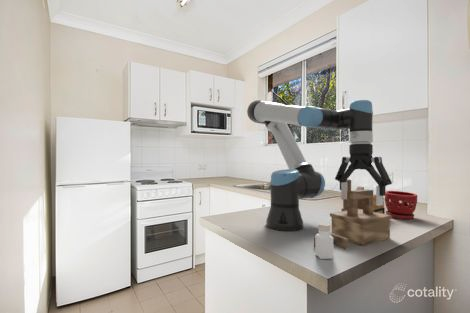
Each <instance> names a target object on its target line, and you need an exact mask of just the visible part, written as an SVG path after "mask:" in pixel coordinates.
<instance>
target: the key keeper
mask: <svg viewBox="0 0 470 313" xmlns="http://www.w3.org/2000/svg"><path fill="white" fill-rule="evenodd" d="M330 235H331V236H332V237H333V245H334V246H338V247H340V248H343V249H346V250H347V249H349V241H348V238H345V237H342V236H339V235H336V234H333V233H332V232H331V233H330ZM313 247H314V248H315V236H314V237H313Z"/></svg>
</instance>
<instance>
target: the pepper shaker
mask: <svg viewBox="0 0 470 313" xmlns="http://www.w3.org/2000/svg"><path fill="white" fill-rule="evenodd" d="M317 226H318V229H317V230H318V233H316V234H315V235H314V237H315V247H314V248H315V252H314V254H315V255H316V256H317V257H318V258H319V259H320V260H331V259H333V258H334V244H333V237H332V236H331V235H330V234H331V224H330V223H328V222H319V223H318V225H317Z"/></svg>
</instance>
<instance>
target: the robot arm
mask: <svg viewBox="0 0 470 313" xmlns="http://www.w3.org/2000/svg"><path fill="white" fill-rule="evenodd" d="M246 109H247V110H246V113H247V117H248V119H250V121H252V122H253V123H255V124H261V125H265V127H266V129H267V131H268V132H271V133H272V136H273V137H274V140H275V142H276V145H277V146H278V148H279V150H280V153H281V155H282V157H283V159H284V160H285V163H286V166H287V168H288V169H279V170H278V169H277V170H276V171H275V170H274V171H273V172H272V173H271V175H270V181H269V182H270V183H269V184H270V208H269V210H268V214H267V217H266V221H265V222H266V224H265V225H266V226H267V227H268V228H270V229H272V230H277V231H282V232H283V231H284V232H294V231H300V230H302V229H304V220H303V218H302V214H301V211H300V200H303V199H313V198H316V197H319V196H320V195H322V193H323V192H324V190H325V186H326V180H325V177H324V175H323V174H322V173H321V172H319V171H316V170H315V169H314V167H313V165H312V163H308V162H307V160H306V159H305V157H304V155H303V153H302V150H301V148H300V146H299V145H298V143H297V140H296V139H295V137H294V135H293V133H292V131H291V129H290V127H289V125H292V126H301V127H305V128H310V129H313V128H314V129H322V130H323V131H325V132H328V131H329V132H334V131H340V130H348V131H349V143H350V145H348V146H349V147H348V148H349V150H348V151H349V155H350V156H342V158H341V163H340V166H339V168H338V171H337V173H336V175H335V177H334V179H335V180H336V181H338V182H339V191H341V192H340V193H341V194H340V198H341V200H342V201H343V200H344V199H347V182H346V180H347V179H349V178H350V177H351V175H352V174H353V173H354V171H356V170H365V171H367V172H368V174H369V175H370V176H371V177H372V179H373V180H374V181H375V183H376V184H377V185H376V188H375V195H376V205H377V206H380V205H383V201H384V197H385V192H386V187H387V186H389V185H392V184H393V181H392V180H391V178H390V176H389V174H388V172H387V170H386V167H385V166H384V163H383V159H382V157H381V156H375V157H373V153H374V152H373V151H374V150H373V146H374V145H373V144H372V143H373V139H374V138H373V137H374V136H373V131H374V130H373V117H374V116H373V115H374V112H373V104H372V101H371V100H368V99H360V100H353V101H351V102H349V105H348V108H347V109H346V108H345V109H340V110H334V109H328V108H324V107H323V108H322V107H317V106H314V105H309V106H308V105H306V106H301V105H286V104H283V103H280V102H275V101H274V102H272V101H268V100H262V99H261V100H260V99H257V100H254V101H252V102H251V103H250V104H249V105H248V107H247V108H246ZM349 163H350V164H349ZM372 163H373V164H374V165H375V167H374V165H373V164H372ZM375 168H376V169H375Z"/></svg>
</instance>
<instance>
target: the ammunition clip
mask: <svg viewBox="0 0 470 313" xmlns="http://www.w3.org/2000/svg"><path fill="white" fill-rule="evenodd" d="M373 212H377V213H382V214H386V208H385V200H383V205H380V206H377V205H376V193H375V194H374V193H373Z"/></svg>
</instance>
